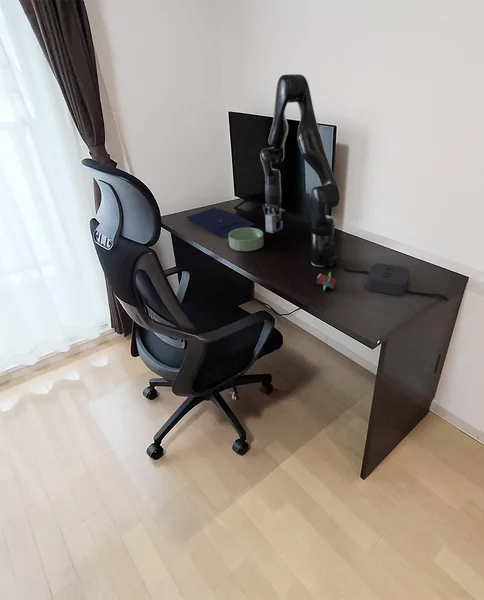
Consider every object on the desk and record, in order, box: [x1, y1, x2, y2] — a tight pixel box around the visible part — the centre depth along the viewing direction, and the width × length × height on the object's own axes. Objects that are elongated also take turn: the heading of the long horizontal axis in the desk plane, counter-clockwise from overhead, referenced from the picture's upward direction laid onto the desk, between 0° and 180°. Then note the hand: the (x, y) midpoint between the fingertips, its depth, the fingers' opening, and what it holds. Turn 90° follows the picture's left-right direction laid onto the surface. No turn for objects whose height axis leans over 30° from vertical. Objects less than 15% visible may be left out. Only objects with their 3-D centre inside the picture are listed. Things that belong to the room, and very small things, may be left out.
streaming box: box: [365, 262, 411, 296], centre depth 142 cm, size 14×14×5 cm
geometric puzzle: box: [316, 271, 338, 292], centre depth 139 cm, size 7×7×8 cm
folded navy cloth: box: [185, 207, 256, 239], centre depth 196 cm, size 24×30×4 cm
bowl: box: [227, 227, 265, 252], centre depth 174 cm, size 16×16×6 cm
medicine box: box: [264, 213, 284, 234], centre depth 181 cm, size 8×4×9 cm, turn 143°
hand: (274, 226), depth 182 cm, fingers closed on medicine box, 4 cm apart
